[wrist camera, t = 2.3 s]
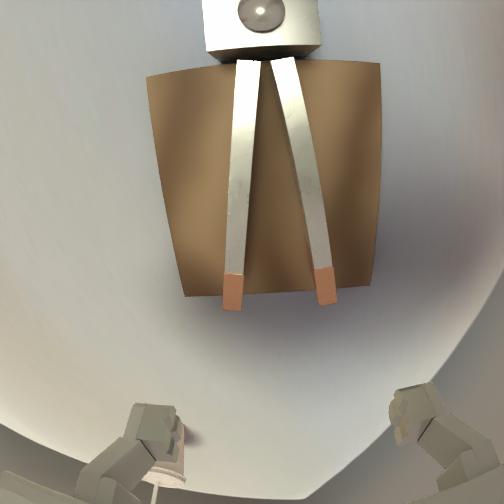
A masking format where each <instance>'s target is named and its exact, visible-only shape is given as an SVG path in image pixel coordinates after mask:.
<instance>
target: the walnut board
mask: <svg viewBox="0 0 504 504" xmlns="http://www.w3.org/2000/svg"><path fill="white" fill-rule="evenodd" d="M270 62H271V61H260V73H259V84H258V96H257V108H256V120H255V132H254V144H253V156H252V169H251V181H250V194H249V206H248V219H247V232H246V245H245V246H246V254H245V267H244V281H243V294H257V293H275V292H291V291H306V290H315V287H314V283H313V279H312V275H311V269H310V263H309V257H308V252H307V246H306V236H305V231H304V225H303V220H302V215H301V210H300V204H299V199H298V194H297V189H296V184H295V179H294V174H293V170H292V165H291V160H290V156H289V151H288V146H287V142H286V137H285V133H284V128H283V124H282V120H281V115H280V111H279V107H278V103H277V99H276V95H275V91H274V87H273V83H272V79H271V75H270V71H269V65H270ZM294 62H295V66H296V70H297V74H298V78H299V82H300V86H301V91H302V95H303V99H304V104H305V108H306V113H307V118H308V122H309V127H310V132H311V137H312V142H313V147H314V152H315V157H316V163H317V168H318V174H319V179H320V185H321V191H322V197H323V203H324V210H325V216H326V223H327V229H328V236H329V244H330V251H331V259H332V265H333V268H334V276H335V285H336V288H345V287H357V286H368V285H370V281H371V274H372V266H373V258H374V250H375V241H376V231H377V220H378V208H379V194H380V176H381V147H382V102H381V74H380V63H371V62H358V61H340V60H294ZM236 71H237V63H233V64H224V65H215V66H208V67H200V68H194V69H187V70H181V71H175V72H170V73H165V74H159V75H155V76H150V77H146V82H147V91H148V99H149V107H150V115H151V122H152V129H153V136H154V143H155V149H156V156H157V162H158V168H159V174H160V180H161V185H162V191H163V197H164V202H165V207H166V213H167V218H168V223H169V228H170V233H171V237H172V242H173V247H174V252H175V256H176V261H177V265H178V270H179V274H180V278H181V283H182V287H183V291H184V295H185V297H190V296H216V295H223V282H224V270H225V252H226V230H227V209H228V190H229V173H230V156H231V140H232V125H233V111H234V97H235V84H236Z"/></svg>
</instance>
